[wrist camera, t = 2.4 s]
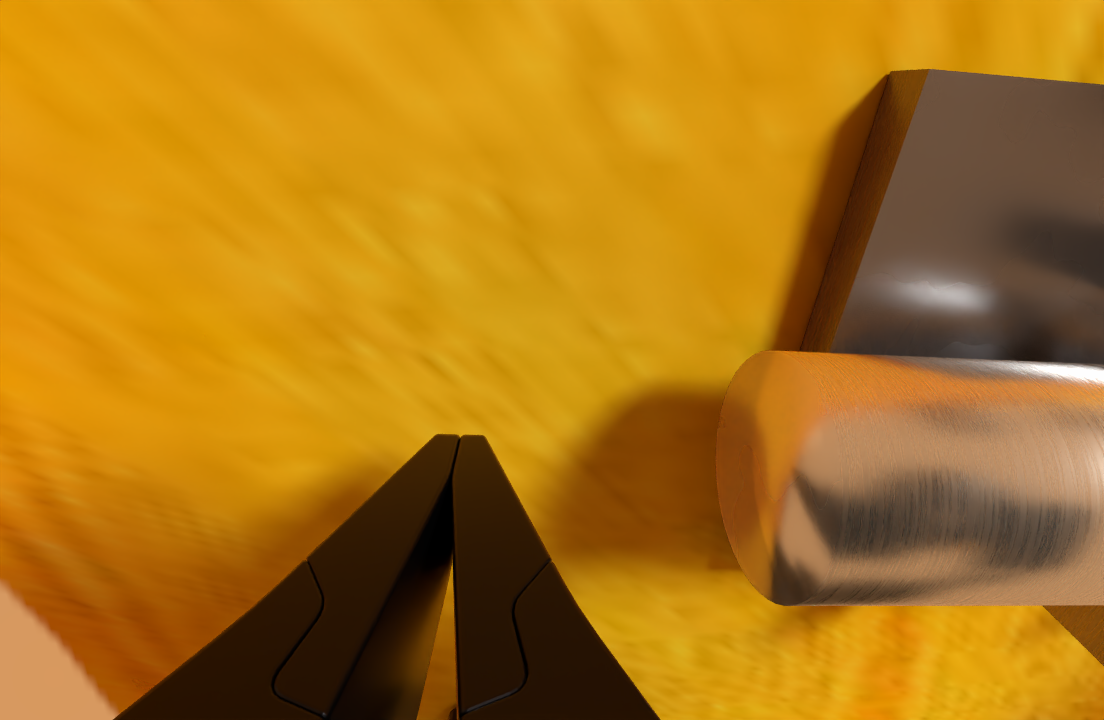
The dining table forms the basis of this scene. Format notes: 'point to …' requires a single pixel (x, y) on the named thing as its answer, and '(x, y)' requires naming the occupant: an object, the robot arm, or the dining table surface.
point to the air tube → (914, 479)
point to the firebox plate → (975, 235)
